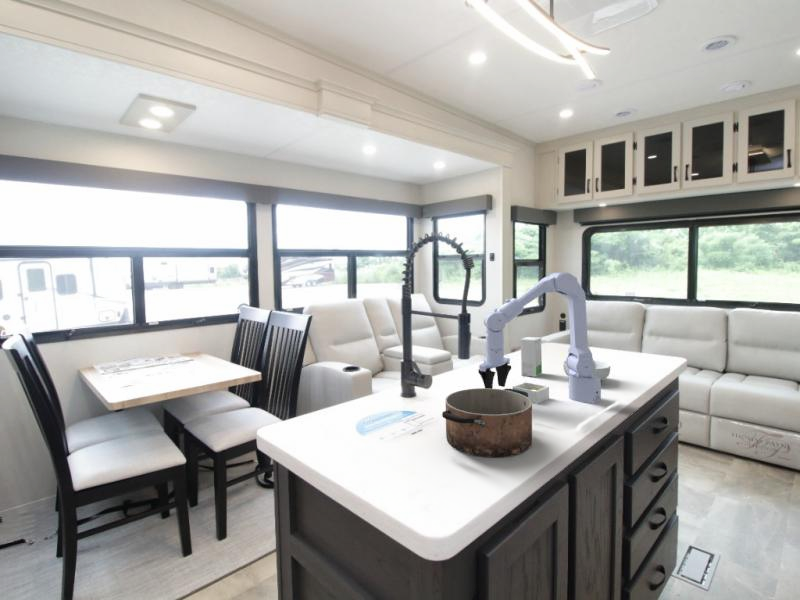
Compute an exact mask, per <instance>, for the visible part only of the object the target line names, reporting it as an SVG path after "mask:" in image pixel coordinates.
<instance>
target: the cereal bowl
mask: <svg viewBox="0 0 800 600" xmlns="http://www.w3.org/2000/svg"><path fill="white" fill-rule="evenodd" d="M594 362H595V365H596V369H595V372H594V373H593V374H592V376H594V377H597V378H599V379H600V381H604V380H606V379H607V378H608V377H609V375H610V372H611V365H610V364H609V363H606V362H604V361H599V360H594ZM563 370H564V373H565V375H566V376H568V377H569V370H570V368H568V366H567V364H566V360H565V361H563Z"/></svg>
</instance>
